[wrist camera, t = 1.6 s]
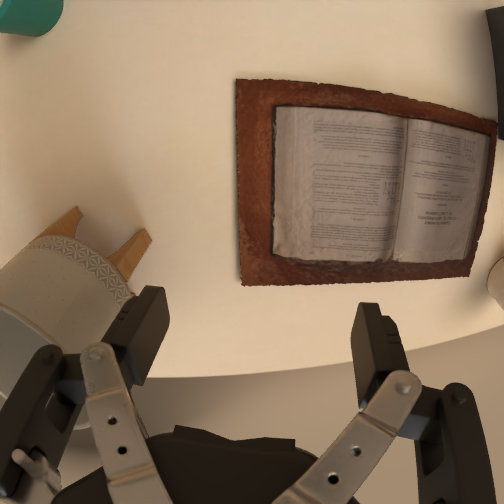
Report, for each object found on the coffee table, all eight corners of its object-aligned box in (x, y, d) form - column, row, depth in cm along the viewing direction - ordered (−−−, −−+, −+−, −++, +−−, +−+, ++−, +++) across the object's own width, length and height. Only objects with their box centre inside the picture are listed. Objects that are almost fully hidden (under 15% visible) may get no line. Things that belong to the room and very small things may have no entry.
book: (466, 274, 34) (485, 291, 30) (240, 283, 34) (239, 306, 29) (489, 113, 26) (515, 116, 22) (236, 80, 26) (234, 73, 22)
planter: (97, 318, 37) (39, 431, 21) (38, 233, 32) (-59, 326, 16) (180, 284, 34) (136, 424, 19) (116, 180, 29) (1, 273, 13)
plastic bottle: (20, 12, 20) (-34, 4, 12) (56, -19, 19) (5, -38, 11) (31, 46, 22) (-27, 43, 14) (69, 15, 21) (14, 0, 13)
